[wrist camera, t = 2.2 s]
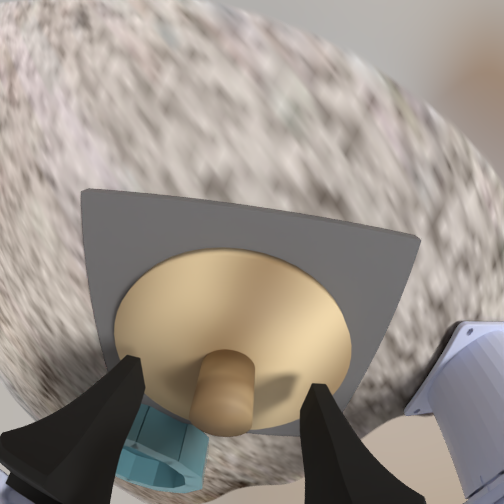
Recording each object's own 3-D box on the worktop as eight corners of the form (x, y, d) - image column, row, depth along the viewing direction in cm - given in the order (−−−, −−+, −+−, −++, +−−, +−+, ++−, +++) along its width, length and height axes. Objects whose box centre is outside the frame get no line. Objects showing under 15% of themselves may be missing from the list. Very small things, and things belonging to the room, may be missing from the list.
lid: (380, 267, 11) (420, 322, 7) (312, 425, 15) (317, 476, 11) (110, 230, 11) (55, 271, 7) (135, 400, 15) (116, 447, 11)
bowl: (210, 411, 16) (201, 457, 12) (207, 468, 20) (202, 500, 16) (68, 371, 15) (45, 405, 12) (101, 440, 20) (89, 467, 16)
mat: (415, 235, 11) (421, 240, 10) (325, 429, 16) (326, 436, 16) (88, 188, 11) (80, 191, 10) (121, 399, 16) (118, 406, 15)
